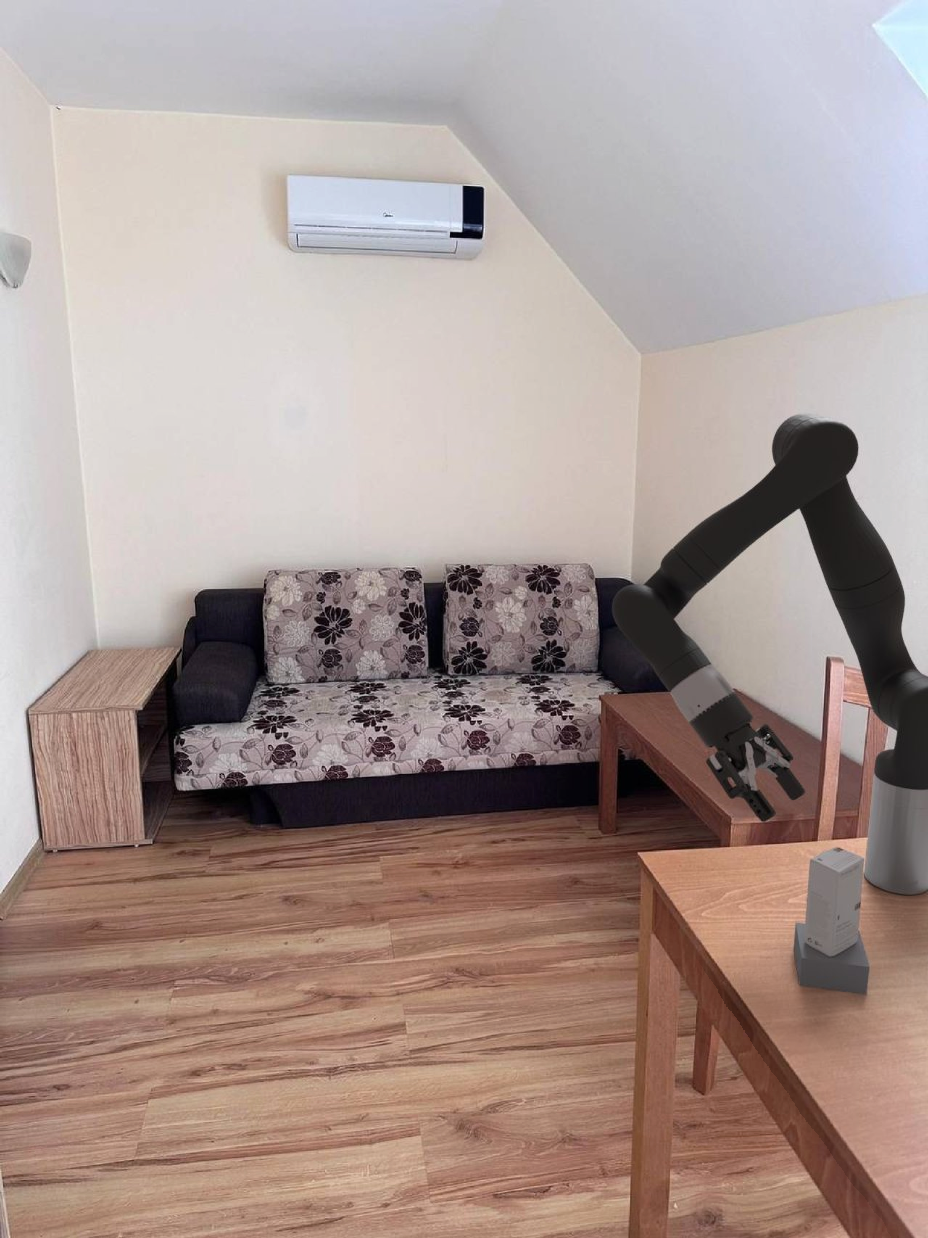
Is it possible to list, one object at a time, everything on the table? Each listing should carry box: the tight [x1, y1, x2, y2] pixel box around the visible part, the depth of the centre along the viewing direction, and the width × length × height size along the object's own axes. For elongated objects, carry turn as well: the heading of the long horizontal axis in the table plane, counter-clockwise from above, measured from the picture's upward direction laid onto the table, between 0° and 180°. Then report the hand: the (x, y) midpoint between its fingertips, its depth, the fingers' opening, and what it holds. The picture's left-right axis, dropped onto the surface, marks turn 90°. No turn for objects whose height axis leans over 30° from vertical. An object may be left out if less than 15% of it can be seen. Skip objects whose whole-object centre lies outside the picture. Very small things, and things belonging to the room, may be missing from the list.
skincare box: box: [804, 846, 865, 957], centre depth 114 cm, size 6×4×12 cm
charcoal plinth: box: [793, 922, 871, 995], centre depth 116 cm, size 8×8×4 cm
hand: (785, 807), depth 116 cm, fingers open, 8 cm apart
